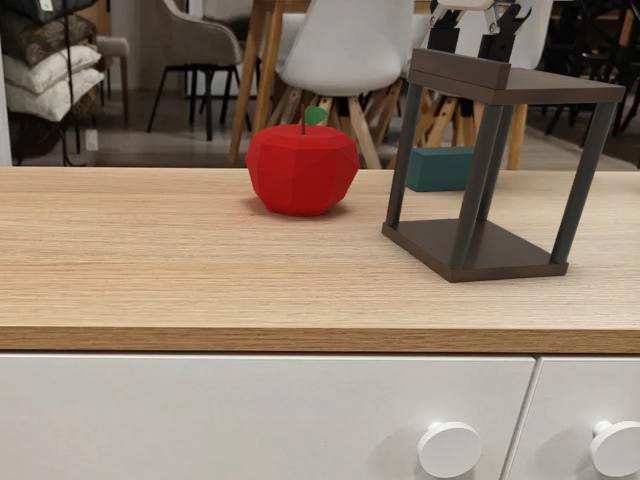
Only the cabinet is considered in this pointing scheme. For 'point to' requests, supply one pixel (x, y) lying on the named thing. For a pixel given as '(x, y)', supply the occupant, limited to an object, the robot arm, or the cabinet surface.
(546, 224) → the cabinet surface
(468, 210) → the rack
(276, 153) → the apple
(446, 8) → the robot arm
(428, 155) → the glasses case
